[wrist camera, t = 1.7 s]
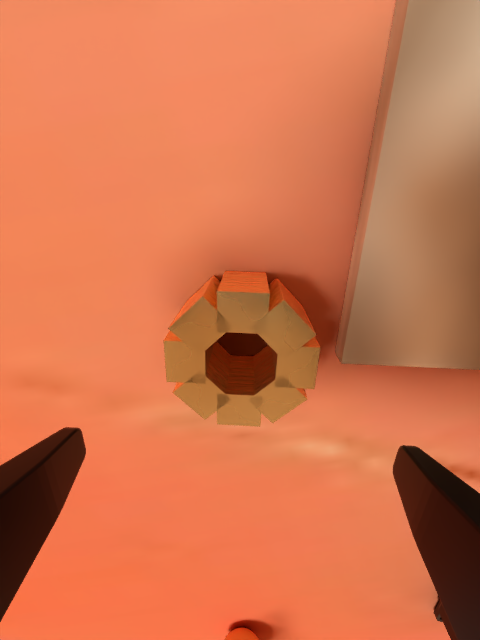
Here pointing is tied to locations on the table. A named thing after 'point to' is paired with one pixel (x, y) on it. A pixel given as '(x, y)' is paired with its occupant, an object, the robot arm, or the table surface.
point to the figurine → (241, 634)
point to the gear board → (421, 199)
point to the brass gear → (242, 371)
